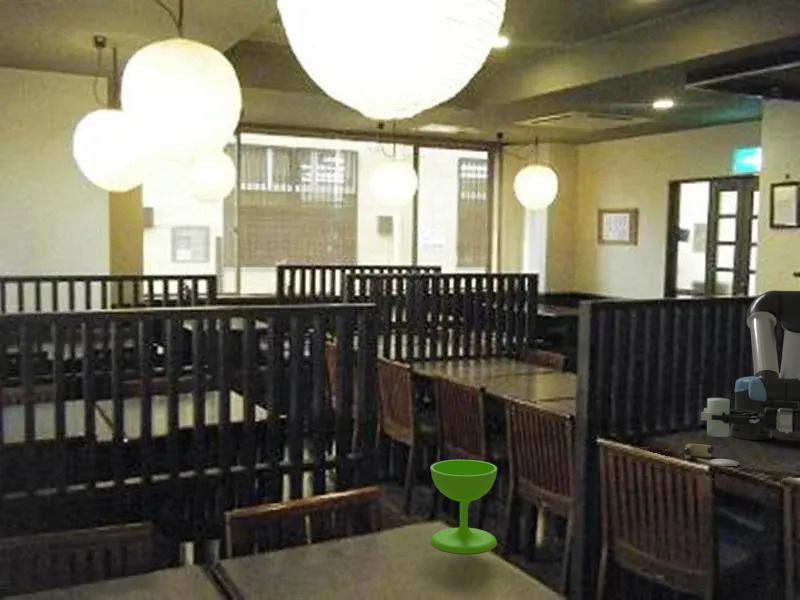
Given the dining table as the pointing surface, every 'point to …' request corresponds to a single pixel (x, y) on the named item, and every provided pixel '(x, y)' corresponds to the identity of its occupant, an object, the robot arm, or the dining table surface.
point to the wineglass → (463, 503)
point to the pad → (724, 462)
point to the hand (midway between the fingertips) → (702, 414)
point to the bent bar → (698, 450)
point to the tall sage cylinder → (715, 426)
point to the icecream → (657, 450)
